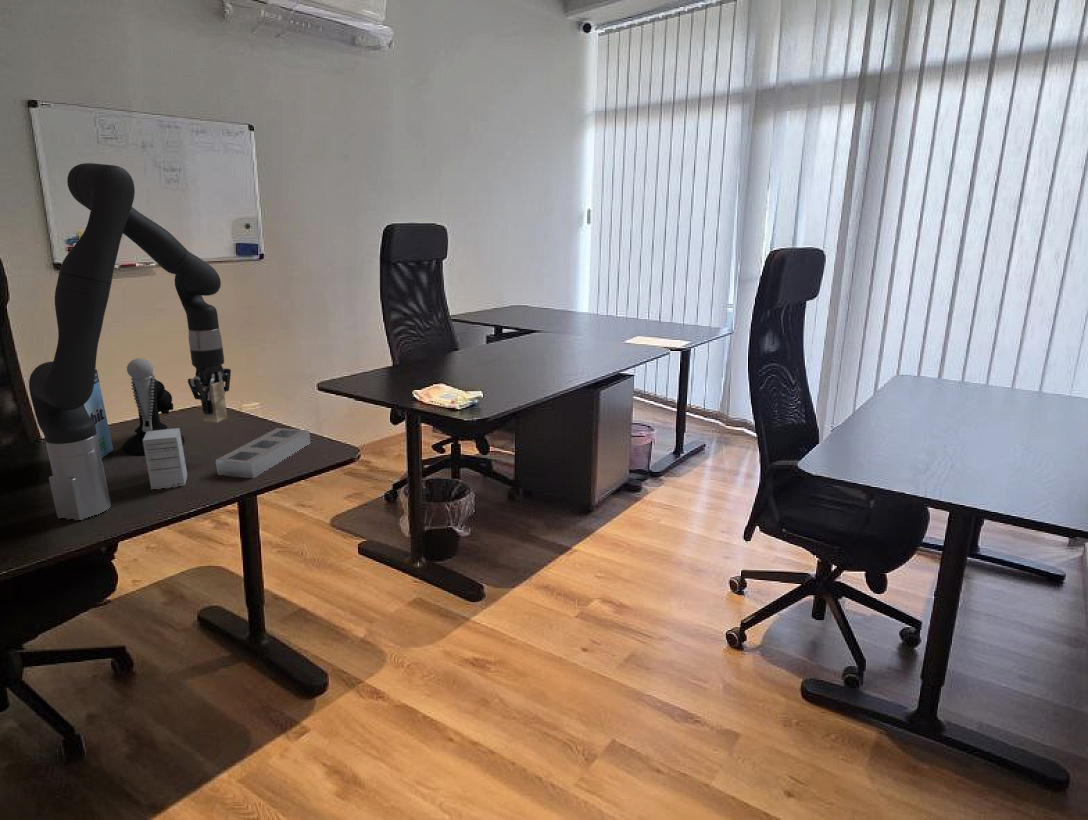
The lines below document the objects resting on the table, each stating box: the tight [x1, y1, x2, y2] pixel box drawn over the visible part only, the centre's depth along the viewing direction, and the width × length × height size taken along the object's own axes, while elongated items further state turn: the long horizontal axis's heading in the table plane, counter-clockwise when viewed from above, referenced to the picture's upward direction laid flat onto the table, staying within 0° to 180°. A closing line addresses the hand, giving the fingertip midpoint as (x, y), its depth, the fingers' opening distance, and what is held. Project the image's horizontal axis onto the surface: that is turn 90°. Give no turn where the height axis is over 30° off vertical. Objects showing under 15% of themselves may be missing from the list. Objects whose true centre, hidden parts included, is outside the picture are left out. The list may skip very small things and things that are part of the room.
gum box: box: [84, 368, 114, 459], centre depth 180 cm, size 20×5×23 cm, turn 8°
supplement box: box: [142, 427, 188, 491], centre depth 168 cm, size 7×7×13 cm
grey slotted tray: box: [215, 427, 311, 479], centre depth 185 cm, size 26×10×4 cm, turn 167°
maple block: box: [200, 381, 228, 424], centre depth 182 cm, size 4×4×10 cm
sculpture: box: [121, 358, 185, 456], centre depth 196 cm, size 15×24×25 cm, turn 15°
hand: (214, 411), depth 183 cm, fingers closed on maple block, 4 cm apart
